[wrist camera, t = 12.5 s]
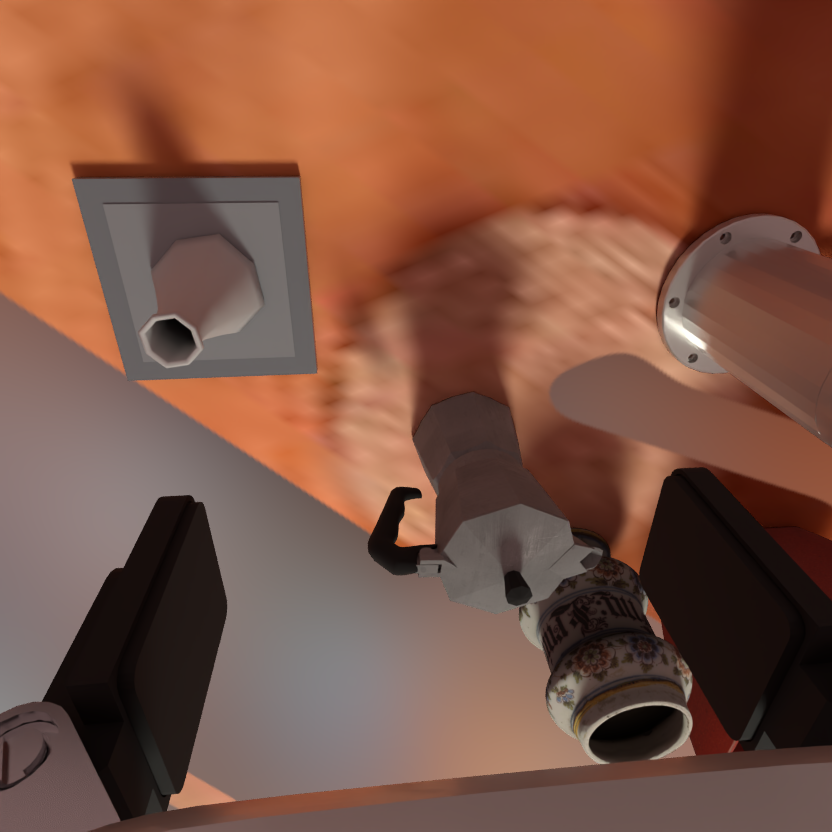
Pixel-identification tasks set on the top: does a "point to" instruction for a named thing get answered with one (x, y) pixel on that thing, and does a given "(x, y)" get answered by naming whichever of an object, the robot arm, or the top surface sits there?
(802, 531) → the plant pot
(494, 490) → the coffeepot
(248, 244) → the slate coaster
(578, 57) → the top surface
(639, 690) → the apothecary jar
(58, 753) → the robot arm
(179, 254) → the flask
